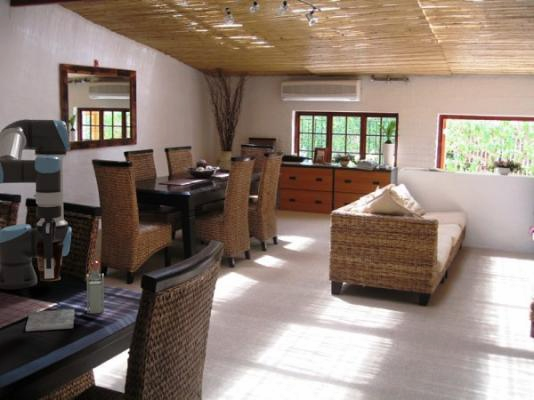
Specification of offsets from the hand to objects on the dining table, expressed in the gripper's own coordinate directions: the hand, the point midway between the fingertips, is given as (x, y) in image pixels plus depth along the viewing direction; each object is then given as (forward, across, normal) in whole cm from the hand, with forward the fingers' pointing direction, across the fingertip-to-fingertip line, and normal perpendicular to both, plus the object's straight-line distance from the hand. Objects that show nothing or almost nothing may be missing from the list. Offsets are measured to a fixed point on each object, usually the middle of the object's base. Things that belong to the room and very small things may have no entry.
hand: (50, 274), depth 188 cm
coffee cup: (+2, 0, 0) cm, 2 cm away
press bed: (+16, 0, 0) cm, 16 cm away
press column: (+16, -8, +14) cm, 23 cm away
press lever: (+2, -2, +14) cm, 14 cm away
